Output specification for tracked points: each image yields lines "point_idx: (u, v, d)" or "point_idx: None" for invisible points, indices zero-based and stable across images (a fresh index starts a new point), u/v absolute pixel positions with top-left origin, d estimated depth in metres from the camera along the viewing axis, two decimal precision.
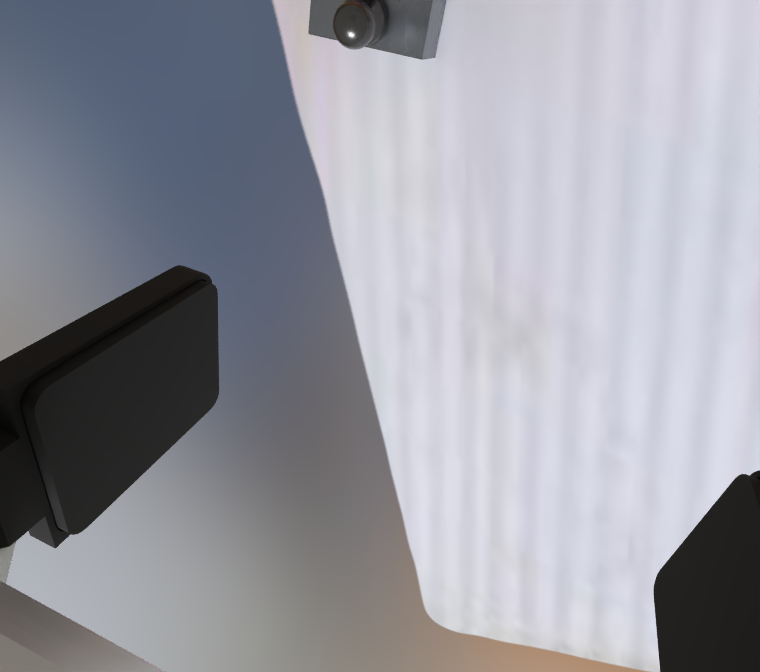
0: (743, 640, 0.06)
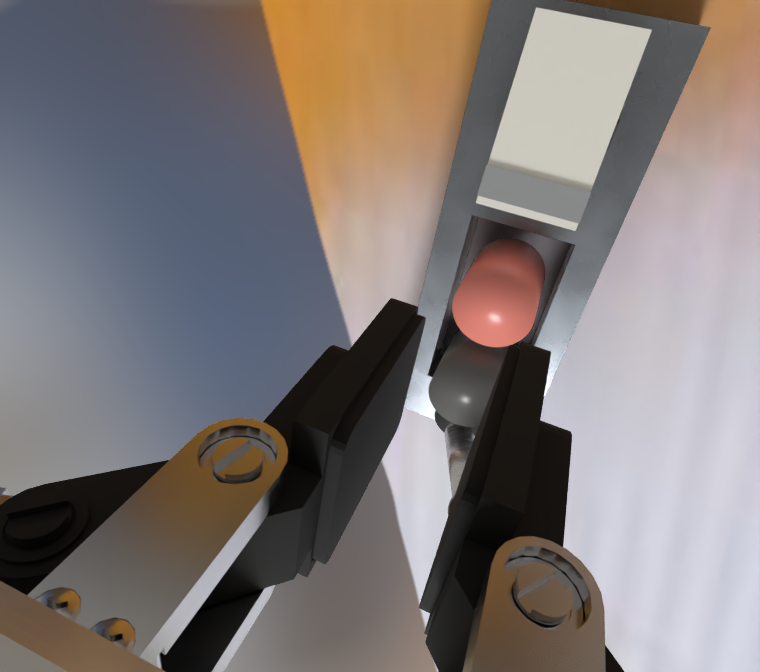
0: (472, 454, 0.08)
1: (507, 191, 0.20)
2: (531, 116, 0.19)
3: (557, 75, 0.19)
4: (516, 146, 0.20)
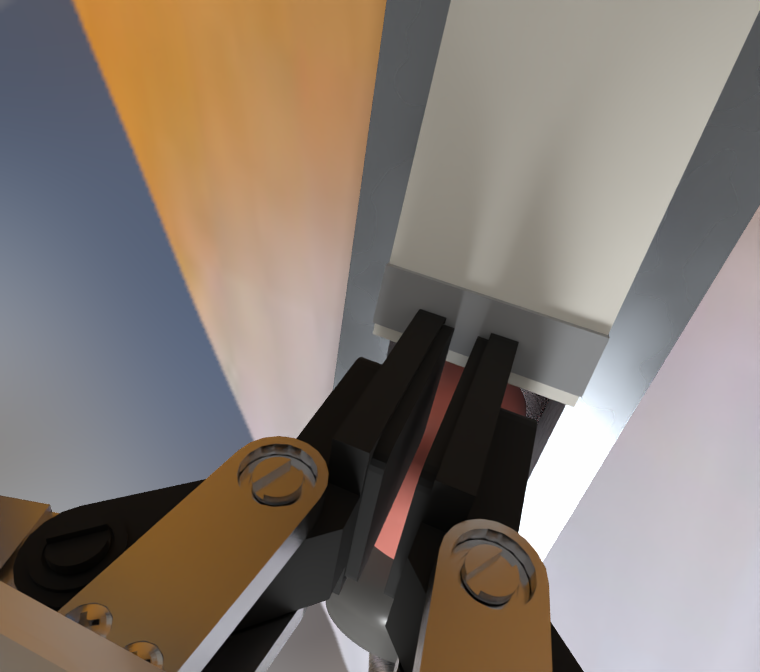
0: None
1: None
2: (475, 166, 0.08)
3: (532, 70, 0.08)
4: (446, 230, 0.09)
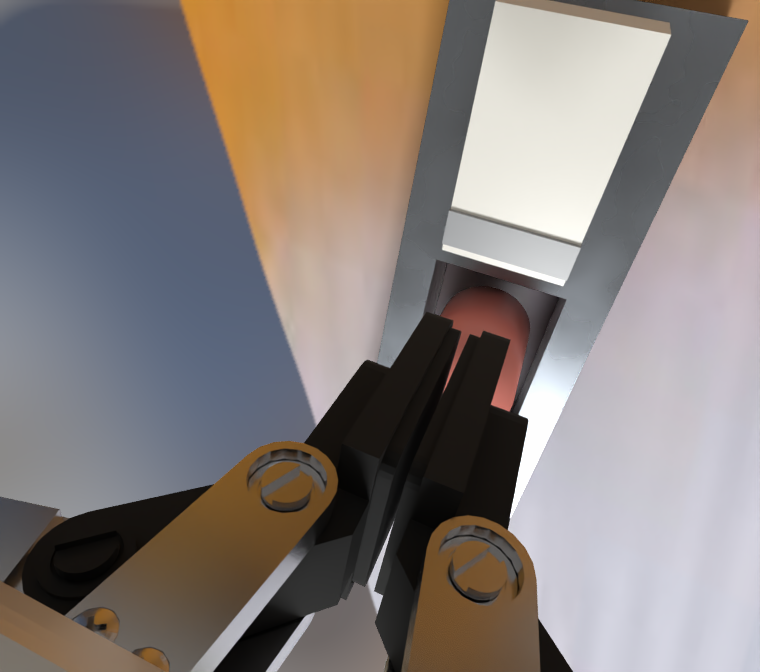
0: None
1: (477, 241, 0.16)
2: (500, 153, 0.14)
3: (531, 100, 0.13)
4: (484, 189, 0.15)
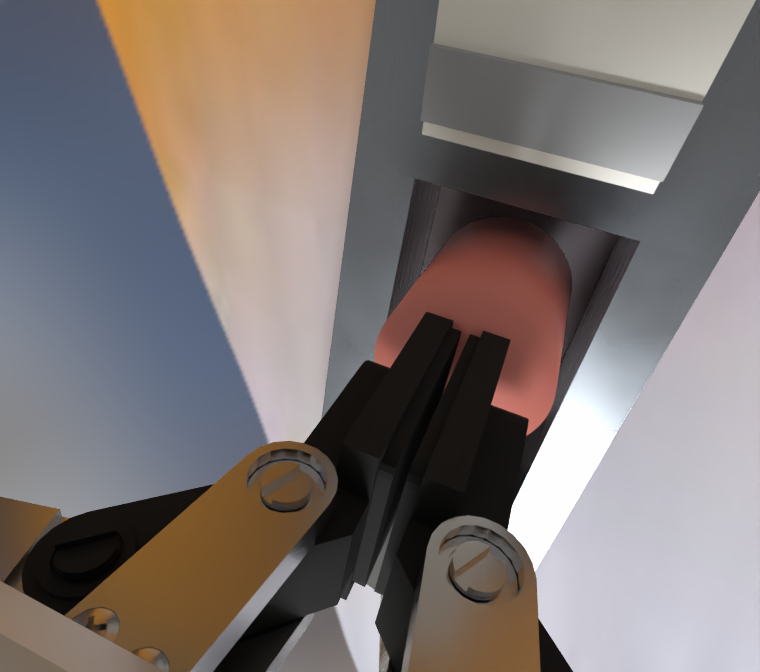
0: None
1: (486, 110, 0.08)
2: None
3: None
4: None
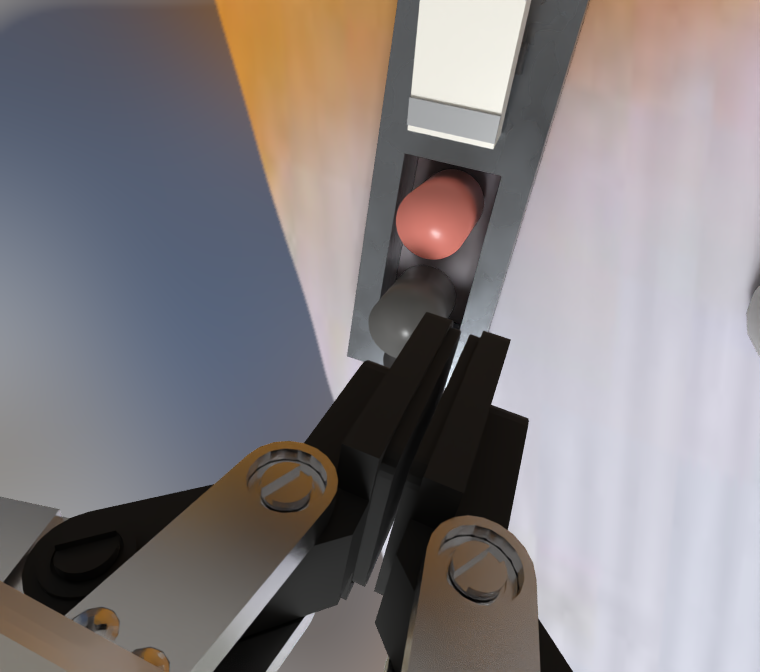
0: None
1: (431, 120, 0.23)
2: (440, 49, 0.21)
3: (456, 8, 0.20)
4: (432, 78, 0.22)
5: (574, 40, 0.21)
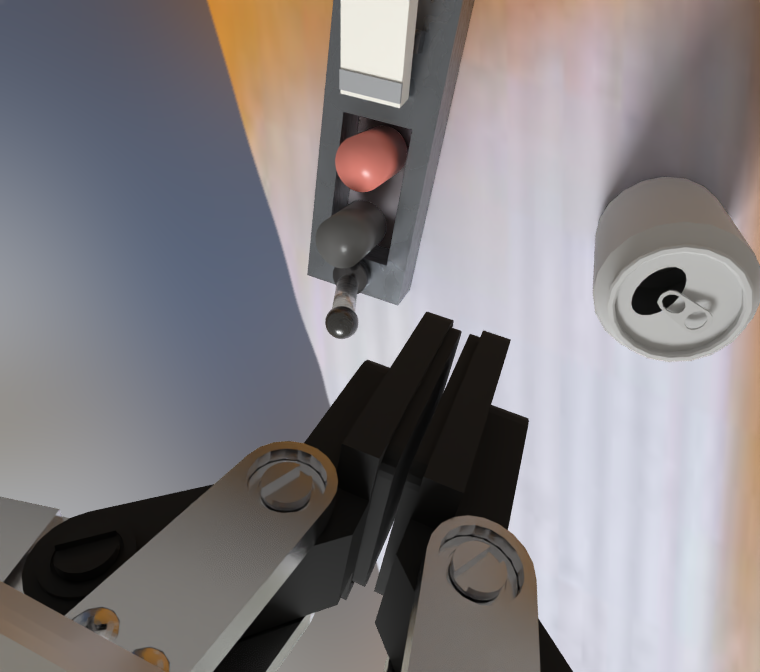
0: None
1: (355, 85, 0.31)
2: (357, 35, 0.29)
3: (365, 6, 0.28)
4: (353, 55, 0.30)
5: (455, 29, 0.30)
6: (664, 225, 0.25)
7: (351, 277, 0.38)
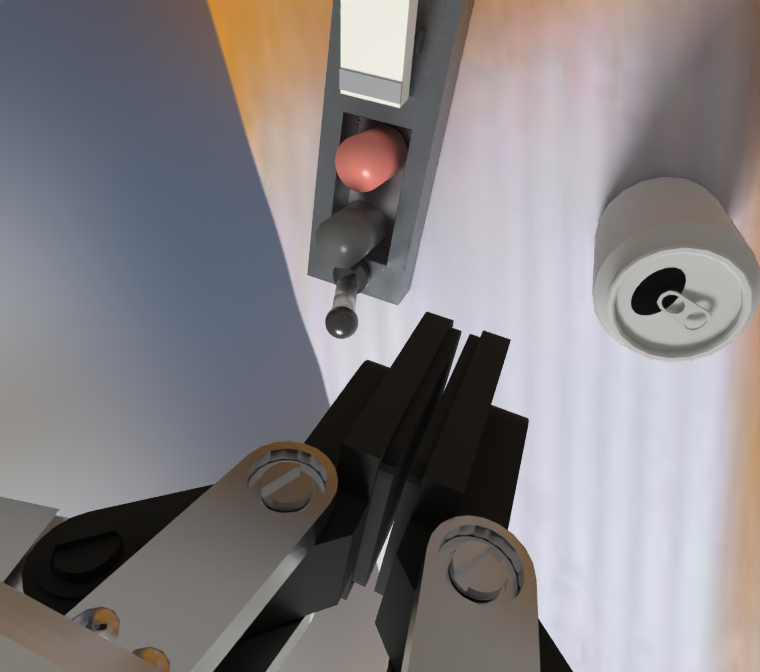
0: None
1: (355, 85, 0.31)
2: (357, 35, 0.29)
3: (364, 6, 0.28)
4: (353, 55, 0.30)
5: (455, 29, 0.30)
6: (664, 225, 0.25)
7: (351, 277, 0.38)
